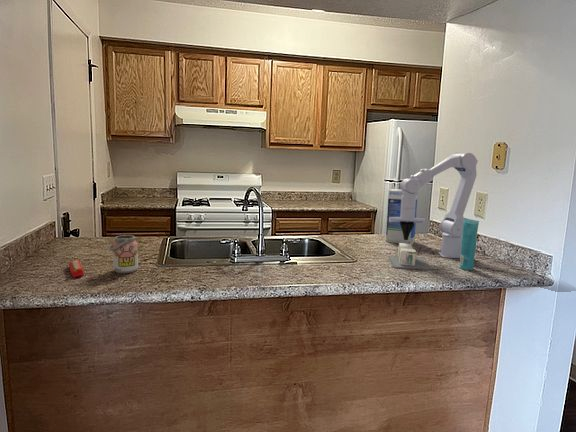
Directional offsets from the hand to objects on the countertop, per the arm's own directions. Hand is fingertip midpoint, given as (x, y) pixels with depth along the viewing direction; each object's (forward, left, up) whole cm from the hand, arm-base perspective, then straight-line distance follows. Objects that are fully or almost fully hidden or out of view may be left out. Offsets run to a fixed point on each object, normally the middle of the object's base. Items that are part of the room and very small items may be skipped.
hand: (405, 239), depth 170 cm
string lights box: (-3, -30, -8) cm, 31 cm away
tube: (-21, +13, -8) cm, 26 cm away
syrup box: (0, +1, -4) cm, 4 cm away
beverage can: (+103, +40, -8) cm, 111 cm away
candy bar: (+118, +45, -8) cm, 127 cm away
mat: (0, +10, -7) cm, 13 cm away
